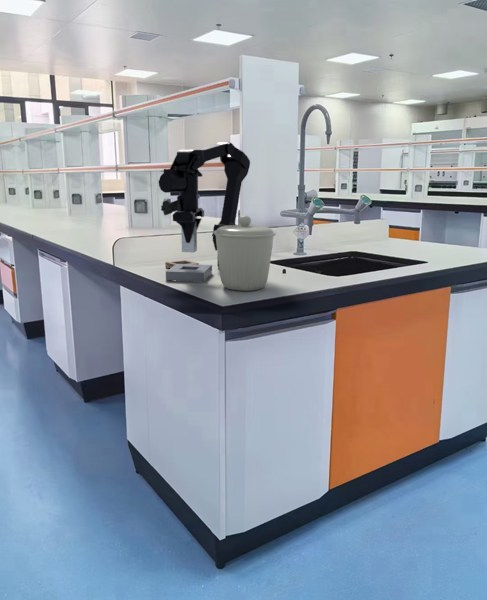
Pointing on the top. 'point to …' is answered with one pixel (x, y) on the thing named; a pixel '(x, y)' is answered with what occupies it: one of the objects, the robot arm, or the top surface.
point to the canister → (244, 255)
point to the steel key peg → (193, 243)
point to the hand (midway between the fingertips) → (189, 241)
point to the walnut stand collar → (172, 263)
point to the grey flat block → (189, 272)
